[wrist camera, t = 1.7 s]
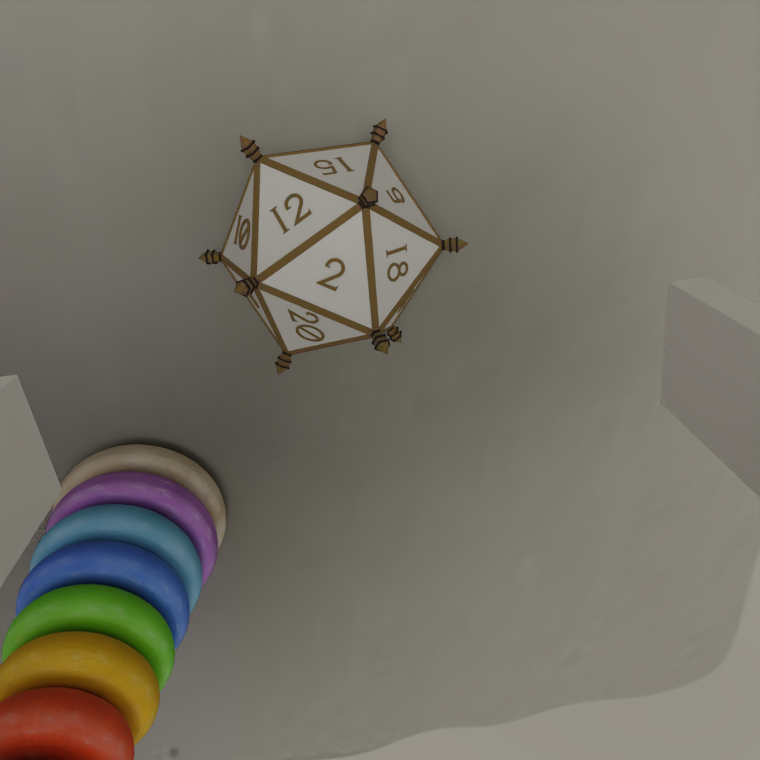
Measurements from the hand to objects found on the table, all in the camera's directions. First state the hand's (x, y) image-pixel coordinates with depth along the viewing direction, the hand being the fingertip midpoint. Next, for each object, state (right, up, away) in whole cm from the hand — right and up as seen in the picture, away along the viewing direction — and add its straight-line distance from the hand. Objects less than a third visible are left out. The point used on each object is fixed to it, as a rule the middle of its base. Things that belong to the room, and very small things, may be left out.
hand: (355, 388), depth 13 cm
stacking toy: (-11, -6, +19) cm, 23 cm away
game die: (-2, +7, +14) cm, 16 cm away
